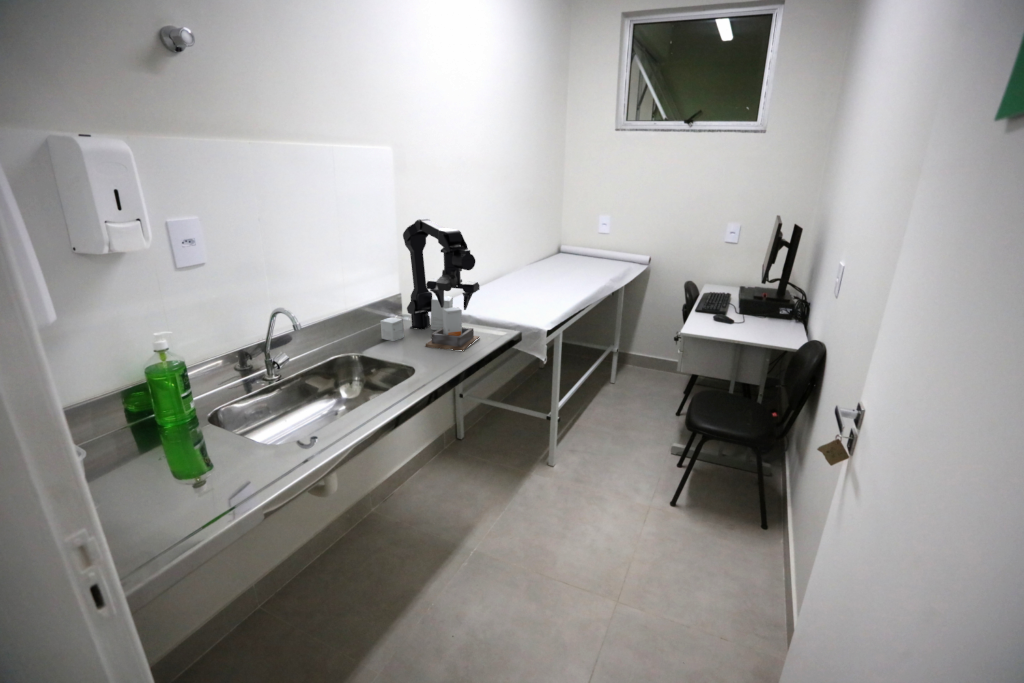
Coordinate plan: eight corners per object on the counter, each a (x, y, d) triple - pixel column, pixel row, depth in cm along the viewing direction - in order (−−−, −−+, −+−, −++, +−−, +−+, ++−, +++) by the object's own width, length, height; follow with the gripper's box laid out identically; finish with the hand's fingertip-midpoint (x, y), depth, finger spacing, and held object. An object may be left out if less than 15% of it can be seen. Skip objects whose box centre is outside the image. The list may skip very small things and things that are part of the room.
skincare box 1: (393, 341, 189) (392, 323, 187) (381, 339, 192) (379, 320, 190) (404, 337, 194) (403, 318, 192) (392, 334, 197) (391, 316, 195)
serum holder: (425, 346, 184) (424, 334, 183) (444, 334, 197) (443, 323, 196) (463, 351, 179) (462, 339, 178) (479, 338, 193) (479, 327, 191)
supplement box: (452, 326, 208) (453, 296, 204) (448, 331, 201) (449, 301, 197) (434, 324, 208) (435, 294, 204) (430, 329, 201) (431, 298, 197)
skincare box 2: (447, 343, 185) (445, 311, 181) (443, 339, 189) (442, 308, 185) (462, 340, 187) (461, 309, 183) (459, 337, 191) (458, 306, 187)
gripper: (417, 268, 175) (420, 311, 180) (466, 272, 169) (467, 316, 174) (432, 263, 185) (434, 304, 190) (479, 266, 179) (480, 309, 184)
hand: (453, 308), depth 184 cm, fingers open, 9 cm apart
